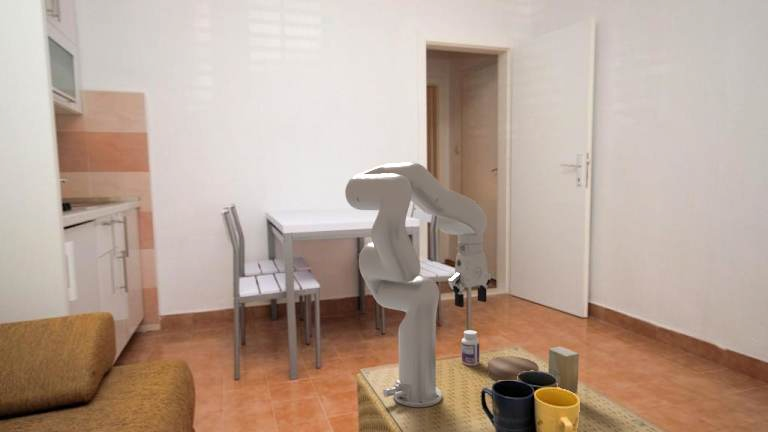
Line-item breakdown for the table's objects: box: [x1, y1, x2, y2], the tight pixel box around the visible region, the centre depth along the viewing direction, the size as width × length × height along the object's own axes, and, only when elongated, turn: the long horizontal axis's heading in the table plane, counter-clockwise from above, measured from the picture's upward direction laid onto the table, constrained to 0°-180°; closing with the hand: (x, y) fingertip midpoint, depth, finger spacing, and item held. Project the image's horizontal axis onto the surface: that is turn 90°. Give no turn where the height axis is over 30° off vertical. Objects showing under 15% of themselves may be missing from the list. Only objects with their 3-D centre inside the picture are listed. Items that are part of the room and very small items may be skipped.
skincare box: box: [547, 346, 580, 395], centre depth 119 cm, size 6×4×12 cm
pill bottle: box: [461, 329, 480, 367], centre depth 144 cm, size 5×5×10 cm
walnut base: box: [487, 355, 540, 382], centre depth 134 cm, size 14×14×3 cm
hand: (470, 303), depth 143 cm, fingers open, 9 cm apart
